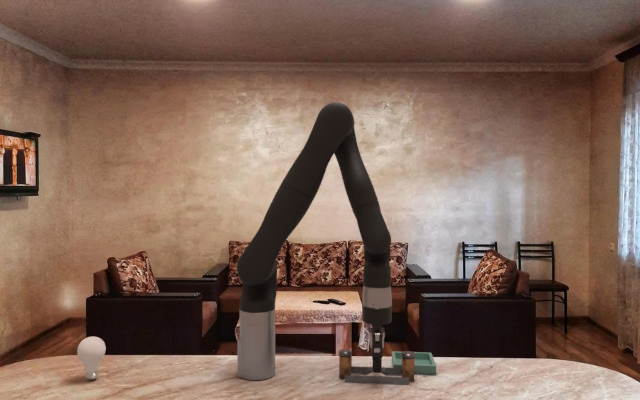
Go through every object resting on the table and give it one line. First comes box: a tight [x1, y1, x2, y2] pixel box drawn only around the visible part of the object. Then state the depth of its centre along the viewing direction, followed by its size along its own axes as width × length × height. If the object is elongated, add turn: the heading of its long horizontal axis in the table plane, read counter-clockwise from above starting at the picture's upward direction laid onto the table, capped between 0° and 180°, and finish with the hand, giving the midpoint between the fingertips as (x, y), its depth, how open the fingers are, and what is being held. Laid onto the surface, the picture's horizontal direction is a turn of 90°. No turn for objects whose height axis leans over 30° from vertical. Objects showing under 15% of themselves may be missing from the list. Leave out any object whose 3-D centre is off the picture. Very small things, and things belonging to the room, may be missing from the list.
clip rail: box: [338, 348, 416, 386], centre depth 133 cm, size 19×7×7 cm, turn 85°
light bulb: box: [76, 336, 107, 381], centre depth 132 cm, size 7×7×11 cm
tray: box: [391, 351, 437, 376], centre depth 142 cm, size 11×11×2 cm
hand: (376, 366), depth 133 cm, fingers open, 8 cm apart
